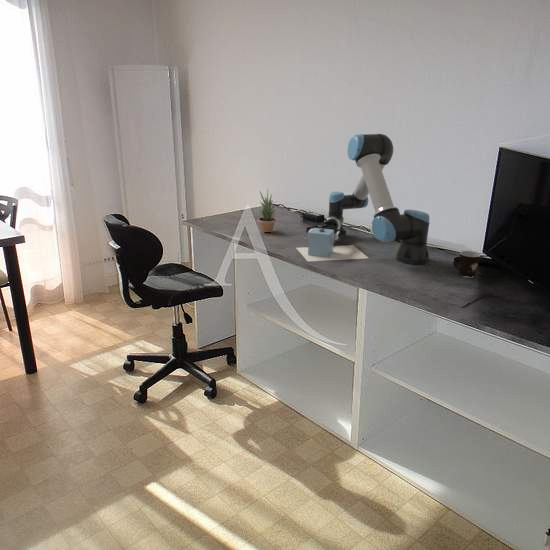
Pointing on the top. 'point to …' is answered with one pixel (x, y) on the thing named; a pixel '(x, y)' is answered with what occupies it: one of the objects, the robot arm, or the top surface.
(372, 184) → the robot arm
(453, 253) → the top surface
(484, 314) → the top surface
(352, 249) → the mat
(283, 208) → the top surface
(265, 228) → the potted plant
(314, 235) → the box cover
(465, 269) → the coffee mug
